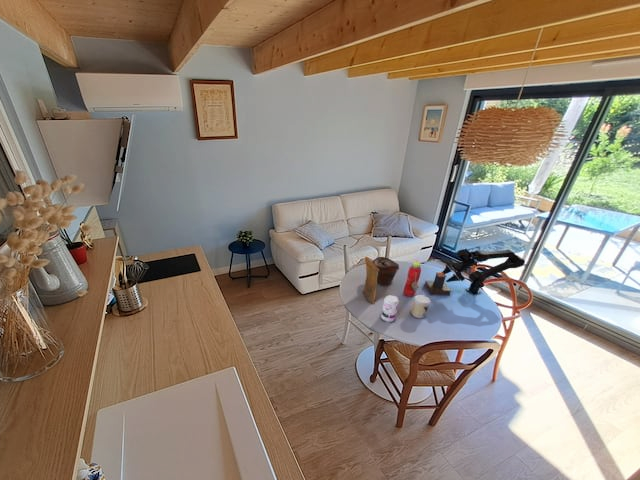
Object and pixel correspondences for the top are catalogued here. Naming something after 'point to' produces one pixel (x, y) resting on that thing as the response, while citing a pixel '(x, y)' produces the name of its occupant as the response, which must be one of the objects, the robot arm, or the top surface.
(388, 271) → the brown flower pot
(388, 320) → the supplement can
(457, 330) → the top surface
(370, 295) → the pancake mix bag
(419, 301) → the coffee cup
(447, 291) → the base pad
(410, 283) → the water bottle
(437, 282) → the pad post
